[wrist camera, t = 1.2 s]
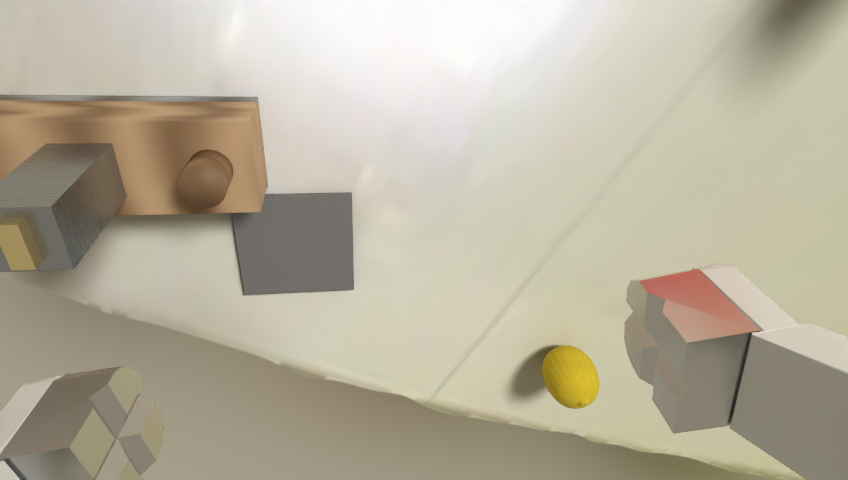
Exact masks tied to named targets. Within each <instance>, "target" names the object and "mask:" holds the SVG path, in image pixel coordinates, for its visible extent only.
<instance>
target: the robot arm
mask: <svg viewBox="0 0 848 480" xmlns="http://www.w3.org/2000/svg"><path fill="white" fill-rule="evenodd" d="M626 301H627V303H628V304H629V306H630V307H631V309H632V310H633V311H634V312H633V313H632V314H631V315H630V317H629V318H628V319H627V320H626V322H625V335H624V339H625V344H626V349H627V354H628V356H629V359H630V361H631V364H632V366H633V368H634V370H635V371H636V373H637V375H638V377H639V378H640V379H642V380H644V381H645V382H647V383H649V384H651V385H653V386H654V388H653V398H652V400H653V401H654V403H655V404H656V406H657V408H658V409H659V411H660V413H661V414H662V416H663V417H664V419H665V421H666V422H667V424H668V425H669V427H670V429H671V430H672V432H673V434H674V433H681V432H688V431H695V430H702V429H709V428H716V427H723V426H730V425H731V426H730V429H732V430H733V431H735V432H736V433H738V434H739V435H741V436H742V437H744V438H745V439H747V440H748V441H750V442H751V443H753V444H754V445H756V446H757V447H759V448H760V449H762V450H763V451H765V452H766V453H768V454H769V455H771V456H772V457H774V458H775V459H777V460H778V461H779V462H781V463H782V464H784V465H785V466H787V467H788V468H790V469H791V470H793V471H794V472H796V473H797V474H799V475H800V476H802V477H803V478H805V479H806V480H848V337H846V336H843V335H840V334H838V333H835V332H832V331H829V330H826V329H824V328H821V327H818V326H815V325H813V324H804V325H799V324H797V323H796V322H795V321H794V320H793V319H792V318H791V317H790V316H789V315H787V314H786V313H785V312H784V311H783V310H782V309H781V308H780V307H778V306H777V305H776V304H775V303H774V302H773V301H772V300H771V299H769V298H768V297H767V296H766V295H765V294H764V293H763V292H762V291H761V290H759V289H758V288H757V287H756V286H755V285H754V284H753V283H752V282H750V281H749V280H748V279H747V278H746V277H745V276H744V275H743V274H741V273H740V272H739V271H738V270H737V269H736V268H735V267H734V266H732V265H730V264H727V263H719V264H714V265H709V266H704V267H699V268H693V269H692V270H687V271H682V272H676V273H670V274H665V275H659V276H653V277H647V278H642V279H636V280H631V281H630V283H629V286H628V288H627V298H626ZM142 385H143V382H142V380H141V379H140V377H139V376H138V374H137V373H136V371H135V370H134V368H130V367H125V366H121V367H114V368H107V369H100V370H94V371H87V372H80V373H74V374H66V375H63V376H55V377H49V378H44V379H36V380H33V381H31V382H29V383H26V384H24V385H23V386H21V388H20V389H19V391H18V392H17V393H16V394H15V395H14V397H13V398H12V399H11V400H10V402H9V403H8V404H7V405H6V407H5V408H4V409H3V410H2V411H1V413H0V480H143V477H142V475H141V474H142V473H143V472H144V471H145V470H147V469H148V468H149V467H150V466H151V465H152V464H153V463H154V462H155V461H156V459H157V457H158V454H159V452H160V449H161V446H162V444H163V430H164V425H163V421H162V417H161V413H160V411H159V409H158V407H157V406H156V404H155V402H153V401H152V400H150V399H148V398H146V397H144V396H142V395H140V391H141V388H142Z"/></svg>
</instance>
